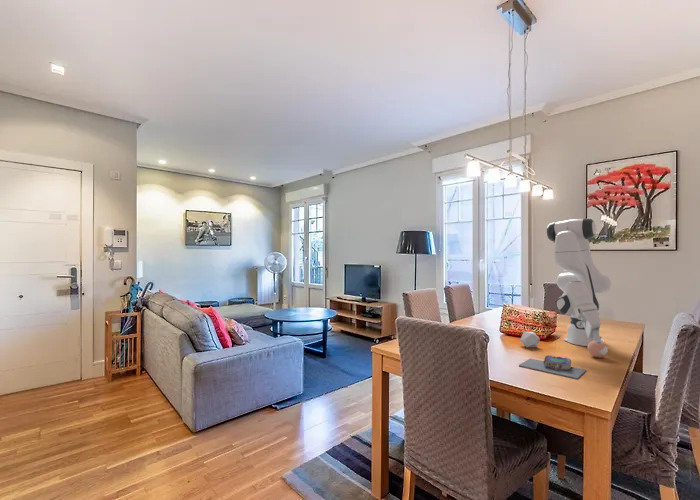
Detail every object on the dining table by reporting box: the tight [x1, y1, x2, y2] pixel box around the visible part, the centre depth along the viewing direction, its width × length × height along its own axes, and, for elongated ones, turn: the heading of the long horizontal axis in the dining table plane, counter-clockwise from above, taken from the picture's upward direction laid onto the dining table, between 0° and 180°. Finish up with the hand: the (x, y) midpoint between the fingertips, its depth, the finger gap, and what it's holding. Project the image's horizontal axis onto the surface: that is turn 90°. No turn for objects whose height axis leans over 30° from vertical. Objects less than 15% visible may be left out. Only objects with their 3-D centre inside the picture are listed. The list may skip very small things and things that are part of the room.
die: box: [519, 331, 541, 349], centre depth 181 cm, size 8×9×10 cm
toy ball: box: [587, 341, 608, 359], centre depth 162 cm, size 8×8×8 cm
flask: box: [543, 355, 572, 370], centre depth 147 cm, size 10×3×12 cm
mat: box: [518, 358, 587, 380], centre depth 146 cm, size 14×22×1 cm, turn 43°
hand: (598, 342), depth 149 cm, fingers closed
